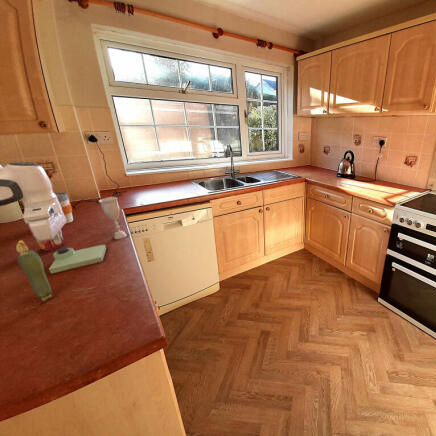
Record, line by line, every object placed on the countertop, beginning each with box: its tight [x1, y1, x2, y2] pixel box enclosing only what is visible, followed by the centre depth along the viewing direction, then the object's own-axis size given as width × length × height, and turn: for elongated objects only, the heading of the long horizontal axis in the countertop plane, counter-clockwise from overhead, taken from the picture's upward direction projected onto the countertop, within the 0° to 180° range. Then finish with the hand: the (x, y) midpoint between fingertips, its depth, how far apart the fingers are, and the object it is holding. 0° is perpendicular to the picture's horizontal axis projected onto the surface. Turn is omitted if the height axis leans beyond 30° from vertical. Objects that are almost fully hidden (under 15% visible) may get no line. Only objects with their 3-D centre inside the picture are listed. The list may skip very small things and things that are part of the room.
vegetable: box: [15, 239, 53, 302], centre depth 70 cm, size 4×4×20 cm
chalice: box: [98, 196, 127, 240], centre depth 109 cm, size 7×7×18 cm
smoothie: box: [24, 220, 63, 252], centre depth 101 cm, size 8×8×20 cm
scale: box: [48, 243, 107, 274], centre depth 93 cm, size 15×12×4 cm
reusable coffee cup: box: [54, 191, 74, 225], centre depth 129 cm, size 13×12×15 cm
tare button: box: [56, 246, 69, 254], centre depth 93 cm, size 3×3×2 cm
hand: (59, 242), depth 92 cm, fingers closed
